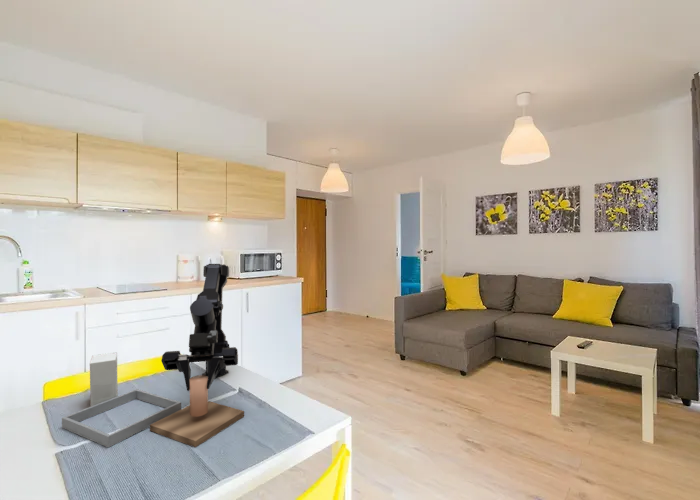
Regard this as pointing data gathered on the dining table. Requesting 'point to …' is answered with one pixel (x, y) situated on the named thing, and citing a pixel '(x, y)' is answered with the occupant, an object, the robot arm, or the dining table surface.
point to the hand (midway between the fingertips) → (197, 389)
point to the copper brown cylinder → (198, 395)
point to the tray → (108, 440)
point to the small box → (103, 378)
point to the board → (197, 424)
